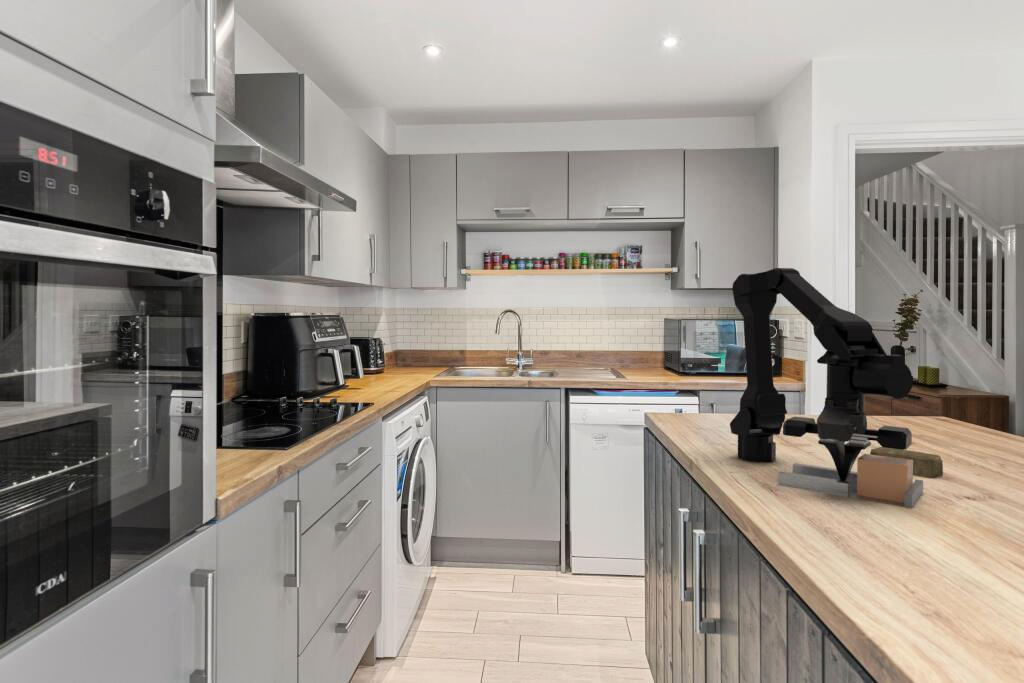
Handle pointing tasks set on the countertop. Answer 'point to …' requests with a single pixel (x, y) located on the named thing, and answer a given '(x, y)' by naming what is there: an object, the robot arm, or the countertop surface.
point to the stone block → (915, 461)
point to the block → (884, 477)
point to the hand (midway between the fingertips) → (843, 481)
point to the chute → (839, 484)
